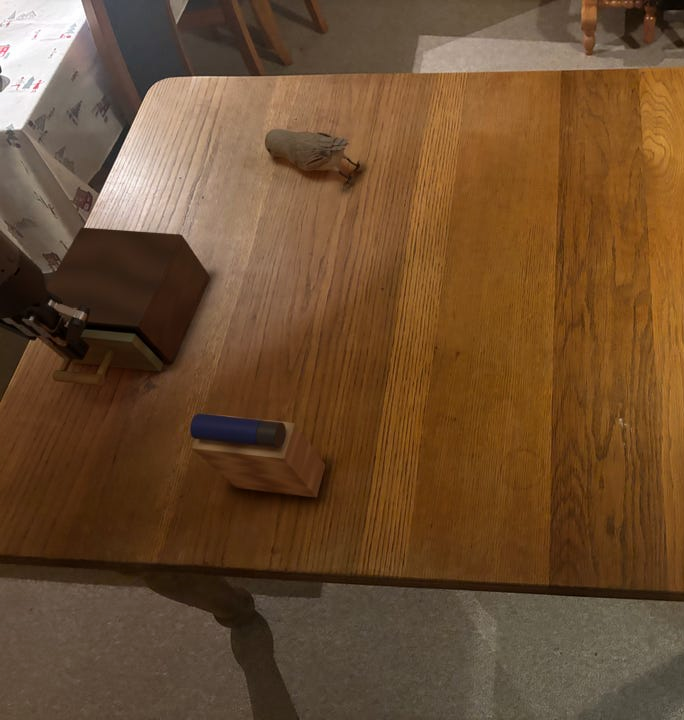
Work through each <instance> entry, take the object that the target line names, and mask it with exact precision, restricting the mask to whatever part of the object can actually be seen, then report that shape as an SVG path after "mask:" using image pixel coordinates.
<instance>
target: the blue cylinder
mask: <svg viewBox="0 0 684 720" xmlns="http://www.w3.org/2000/svg"><path fill="white" fill-rule="evenodd" d="M209 414H210V413H196V414H195V415H194V416H193V417H192V419H191V422H190V425H189V432H190V435H191V438H192V439H194V440H195V439H201V440H210V441H219V442H227V443H236V444H245V445H254V446H263V447H272V448H280V447H281V446H282V445H283V443H284V440H285V435H286V428H285V425H284V423H282V422H283V421H280V422H274V421H275V420H271V421H265V420H266V419H261V420H255V419H256V418H252V419H246V418H247V417H243V418H237V417H238V416H233V417H227V416H228V415H224V416H218V415H219V414H215V415H209ZM263 420H264V421H263Z"/></svg>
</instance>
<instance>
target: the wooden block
mask: <svg viewBox="0 0 684 720" xmlns="http://www.w3.org/2000/svg"><path fill="white" fill-rule="evenodd" d="M208 414H209V415H216V414H213V413H208ZM217 415H218V416H225V415H224V414H217ZM226 416H227V417H234V416H231V415H226ZM236 417H237V418H244V417H243V416H236ZM245 418H246V419H253V417H252V418H250V417H245ZM254 419H255V420H263V421H264V420H265V421H272V420H269V419H260V418H254ZM273 421H274V422H282V423H284V425H285V428H286V435H285V440H284V443H283V445H282V446H281V447H280V448H272V447H263V446H254V445H245V444H236V443H227V442H219V441H210V440H201V439H194V440H193V443H192V446H191V449H192V450H193V451H194V452H195V453H196V454H198V455H199V456H200V457H201V458H202V460H204V461H205V462H207V464H209V465H210V466H211V467H212V468H213V469H214V470H216V472H218V473H219V474H220V475H221V476H223V478H225V479H226V481H228V482H229V483H230V484H231V485H232V486H234V488H236V489H241V490H242V489H243V490H250V491H260V492H267V493H277V494H283V495H284V494H285V495H292V496H301V497H307V498H308V497H309V498H317V497H318V494H319V491H320V487H321V484H322V481H323V480H322V479H323V477H324V472H325V469H326V464H325V463H324V461H323V460H322V458H321V457H320V456H319V455H318V453H317V451H316V450H315V449H314V448H313V446H312V445H311V444H310V442H309V440H308V439H307V437H306V436H305V435H304V434H303V432H302V431H301V430H300V428H299V427H298V425H297V424H296V423H295V422H289V421H280V420H279V421H277V420H273Z"/></svg>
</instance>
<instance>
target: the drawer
mask: <svg viewBox="0 0 684 720" xmlns="http://www.w3.org/2000/svg"><path fill="white" fill-rule="evenodd" d="M80 338H82V339H83V340H84V341H85V342H86V343H87V344H88V345H89V349H88V351H87V353H86V355H85V357H84V359H83V360H74V359H69V358H68V357H67V356H65V355H64V354H63V353H62V352H61V351H59V350H58V349H57V348H56V347H55V346H53V345H49V344H45V345H46V346H47V347H49V349H51V350H52V351H53V352H54V353H56V355H58V356H59V357H60V358H61V359H63V362H62V364H61V366H60V368H59V369H56V370H54V371H53V372H52V376H51V378H52V380H53V381H54V382H56V383H57V382H58V383H67V384H77V385H85V386H96V387H102V386H103V385H104V384H105V381H106V377H105V376H104V375H105V374H106V371H107V370H108V367H114V368H123V369H133V370H141V371H143V370H144V371H154V372H161V371H162V368H163V366H164V363H162V362H161V361H160V360H159V358H158V357H157V356H156V355H155V354H154V353H157V352H156V351H155V350H154V349H153V348H152V347H151V346H150V345H149V343H148V342H147V341H146V340H145V339H144V338H143V337H142V336H141V335H140V334H139V333H138V332H137V331H136V329H127V328H116V327H105V326H94V325H86V328H85V330H84V331H83V333H82V334H81V336H80ZM72 363H74V364H82V365H92V366H93V365H94V366H99V367H98V370H97V372H96V373H91V372H90V373H89V372H80V371H73V370H72V371H70V370H69V368H70V366H71V364H72Z"/></svg>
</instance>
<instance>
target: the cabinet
mask: <svg viewBox="0 0 684 720" xmlns="http://www.w3.org/2000/svg"><path fill="white" fill-rule="evenodd" d="M210 278H211V276H210V274H209V273H208V270H206V268H205V267H204V265H203V264H202V261H201V260H200V259H199V258H198V256H197V255H196V254H195V252H194V250H193V249H192V247H191V245H190V244H189V243H188V242H187V240H186V238H185V236H183V234H180V233H167V232H166V233H165V232H154V231H139V230H125V229H124V230H123V229H111V228H97V227H80V229H79V230H78V232H77V234H76V236H75V237H74V238H73V241H72V242H71V243H70V246H69V247H68V249H67V251H66V252H65V255H64V256H63V257H62V259H61V261H60V263H59V265H58V266H57V268H56V269H55V271H54V273H53V275H52V277H51V278H50V280H49V281H48V283H47V285H46V289H47V290H48V291H50V292H51V293H53V294H54V295H56V296H58V297H59V298H60V299H61V300H62V302H63V305H65V306H68V307H70V308H78V307H79V305H84V306H86V307H88V308H90V310H91V311H90V314H89V318H88V322H87V325H94V326H105V327H116V328H127V329H136V331H137V332H138V333H139V334H140V335H141V336H142V337H143V338H144V339H145V340H146V341H147V342H148V343H149V345H150V346H151V347H152V348H153V349H154V350H155V351H156V352H157V353H154V354H155V355H156V356H157V357H158V358H159V360H160V361H161V362H162V363H163V364H168V365H173V364H174V362H175V359H176V356H177V354H178V352H179V350H180V348H181V346H182V343H183V341H184V338H185V336H186V335H187V331H188V330H189V327H190V324H191V322H192V320H193V318H194V315H195V313H196V312H197V311H196V310H197V308H198V306H199V304H200V302H201V299H202V297H203V295H204V293H205V290H206V287H207V286H208V283H209V281H210Z"/></svg>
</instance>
